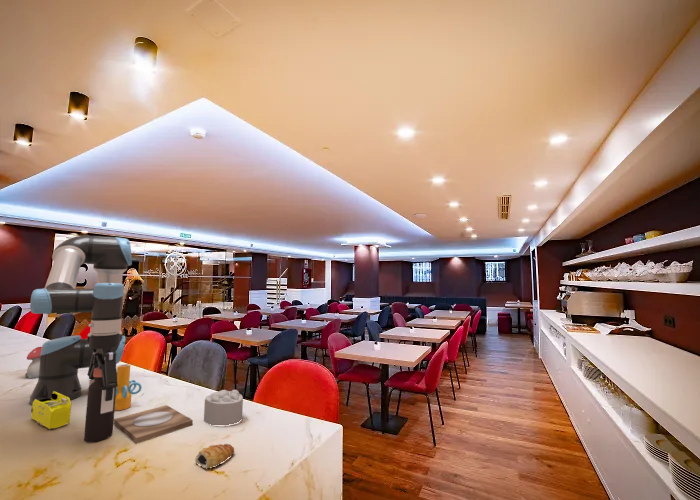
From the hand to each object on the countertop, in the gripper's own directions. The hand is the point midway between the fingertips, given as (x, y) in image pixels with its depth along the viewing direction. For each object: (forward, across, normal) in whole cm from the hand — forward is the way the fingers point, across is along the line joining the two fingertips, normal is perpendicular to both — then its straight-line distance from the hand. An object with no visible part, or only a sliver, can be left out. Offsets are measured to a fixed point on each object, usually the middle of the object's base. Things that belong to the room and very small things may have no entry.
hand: (99, 406), depth 97 cm
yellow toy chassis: (+9, -24, -7) cm, 27 cm away
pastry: (+9, +38, +16) cm, 43 cm away
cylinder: (+9, -21, +12) cm, 26 cm away
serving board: (+9, +3, +14) cm, 17 cm away
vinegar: (+9, 0, 0) cm, 9 cm away
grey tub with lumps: (+9, +17, +31) cm, 37 cm away
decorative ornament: (+9, -97, -1) cm, 97 cm away
